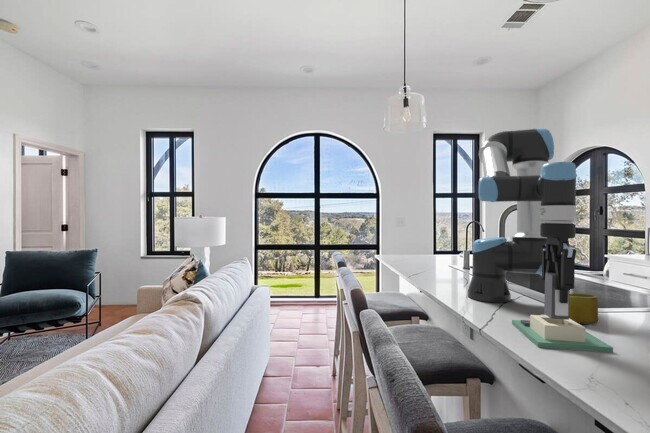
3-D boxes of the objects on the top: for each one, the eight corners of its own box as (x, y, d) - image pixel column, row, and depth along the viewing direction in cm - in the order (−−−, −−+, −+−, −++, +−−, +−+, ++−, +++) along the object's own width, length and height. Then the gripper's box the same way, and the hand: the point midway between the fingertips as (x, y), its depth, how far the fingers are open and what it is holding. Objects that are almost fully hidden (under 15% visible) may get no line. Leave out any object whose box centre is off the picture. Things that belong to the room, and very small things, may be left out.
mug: (614, 322, 96) (598, 287, 99) (576, 330, 98) (561, 296, 101) (593, 318, 108) (579, 287, 110) (559, 325, 110) (546, 295, 112)
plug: (543, 313, 90) (544, 272, 90) (560, 314, 90) (561, 272, 89) (551, 318, 86) (552, 275, 86) (568, 319, 85) (569, 276, 85)
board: (511, 323, 100) (512, 307, 100) (572, 327, 97) (572, 311, 97) (537, 347, 82) (538, 327, 82) (613, 352, 79) (613, 332, 79)
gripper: (528, 221, 97) (527, 303, 97) (557, 222, 80) (556, 321, 80) (557, 222, 95) (556, 304, 95) (593, 223, 78) (592, 324, 78)
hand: (556, 312), depth 88 cm, fingers closed on plug, 4 cm apart
